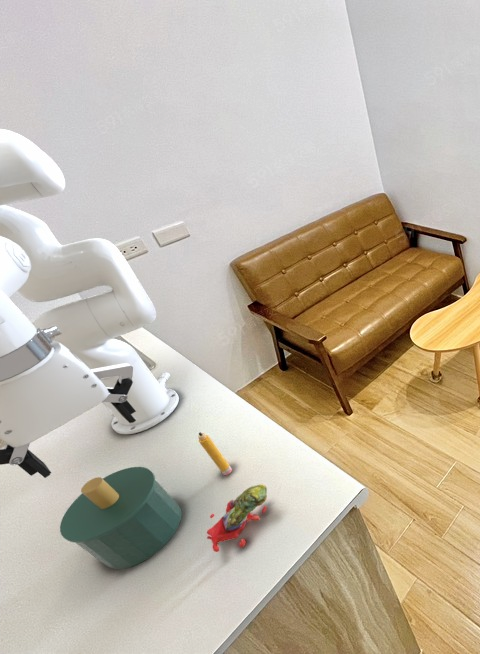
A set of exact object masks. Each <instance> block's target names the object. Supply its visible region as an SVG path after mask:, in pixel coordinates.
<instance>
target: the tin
mask: <svg viewBox="0 0 480 654" xmlns="http://www.w3.org/2000/svg"><path fill="white" fill-rule="evenodd" d="M181 520H182V509H181V507H180V505H179V504H178V503H177V501H176V500H174V498H173V497H172V496H171V495H170V494H169V493H168V491H166V489H164V487H162V485H161V484H160V483H159V482H158V481H157V480H156V479H155V487H154V490H153V492H152V494H151V496H150V498H149V499H148V501H147V502H146V503H145V505H144V506H143V507H142V508H141V509H140V510H139V511H138V512H137V513H136V514H135V515H134V516H133V517H132V518H131V519H130V520H128V521H127V522H126V523H125V524H123V525H122V526H120V527H119V528H117V529H116V530H114V531H112V532H110V533H109V534H107V535H105V536H102V537H100V538H98V539H95V540H92V541H88V542H82V543H75V544H76V545H77V546H79V547H80V548H82V549H83V550H84V551H86V552H87V553H88V554H89V555H91V556H92V557H94V558H95V559H96V560H98V561H99V562H101V563H102V564H103V565H104V566H106V567H109V568H111V569H114V570H123V569H129V568H132V567H134V566H137V565H139V564H141V563H143V562H145V561H146V560H148V559H150V558H151V557H153V556H154V555H155V554H156V553H157V552H159V551H160V550H161V549H163V547H164V546H165V545H166V544H167V543H168V542H169V541H170V540H171V538H172V537H173V536H174V535H175V533H176V532H177V530H178V527H180V523H181Z"/></svg>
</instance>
